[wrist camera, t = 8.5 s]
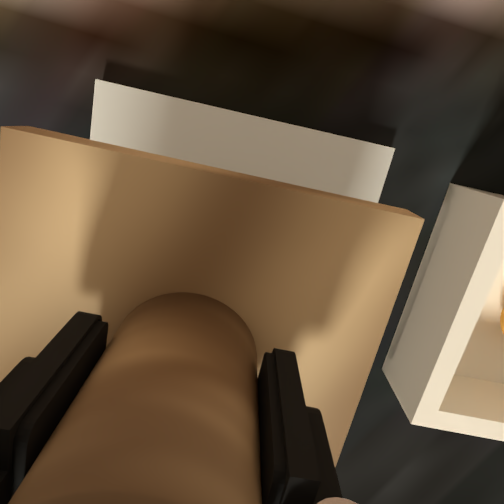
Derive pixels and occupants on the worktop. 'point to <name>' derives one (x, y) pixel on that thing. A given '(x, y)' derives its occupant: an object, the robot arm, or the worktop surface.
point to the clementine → (502, 320)
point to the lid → (184, 310)
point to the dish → (455, 322)
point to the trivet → (238, 142)
